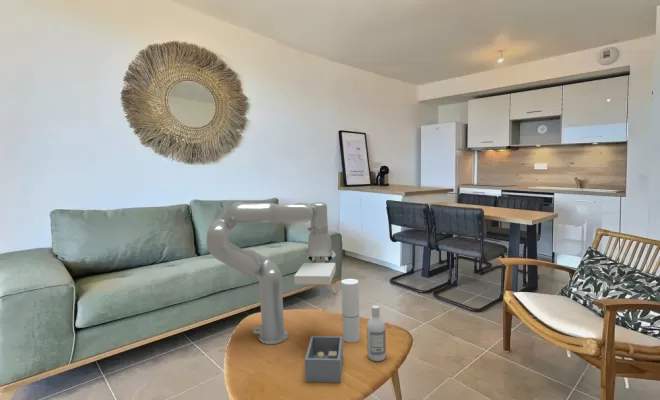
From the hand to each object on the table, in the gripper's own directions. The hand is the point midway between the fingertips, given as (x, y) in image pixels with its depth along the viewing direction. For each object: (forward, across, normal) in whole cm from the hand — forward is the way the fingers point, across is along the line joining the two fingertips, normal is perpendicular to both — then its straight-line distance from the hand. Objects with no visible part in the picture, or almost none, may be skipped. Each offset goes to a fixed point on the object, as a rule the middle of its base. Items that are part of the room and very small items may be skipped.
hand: (321, 270), depth 152 cm
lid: (-1, 0, -10) cm, 10 cm away
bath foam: (+28, +24, -21) cm, 42 cm away
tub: (+27, +5, -30) cm, 41 cm away
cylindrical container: (+28, +13, -8) cm, 32 cm away
